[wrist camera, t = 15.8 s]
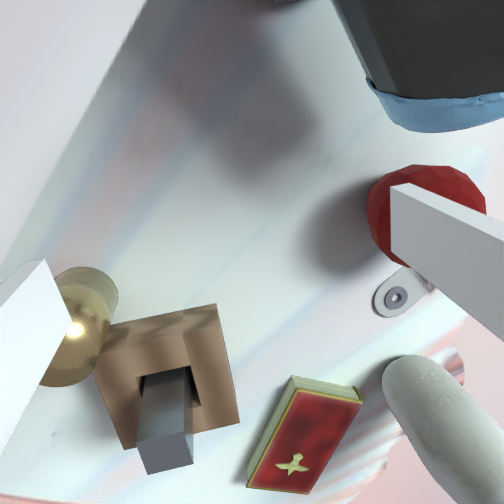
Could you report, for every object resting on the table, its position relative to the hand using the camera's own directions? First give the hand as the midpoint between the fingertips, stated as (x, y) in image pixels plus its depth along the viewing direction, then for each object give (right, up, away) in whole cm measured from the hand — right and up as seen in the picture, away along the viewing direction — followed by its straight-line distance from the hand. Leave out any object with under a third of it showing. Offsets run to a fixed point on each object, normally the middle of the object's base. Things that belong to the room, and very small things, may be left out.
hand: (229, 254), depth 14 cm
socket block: (-11, -16, +39) cm, 43 cm away
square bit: (-11, -16, +38) cm, 43 cm away
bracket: (+24, -5, +41) cm, 48 cm away
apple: (+19, +7, +35) cm, 40 cm away
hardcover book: (+9, -29, +49) cm, 57 cm away
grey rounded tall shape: (+25, -19, +47) cm, 56 cm away
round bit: (-20, -5, +33) cm, 39 cm away
